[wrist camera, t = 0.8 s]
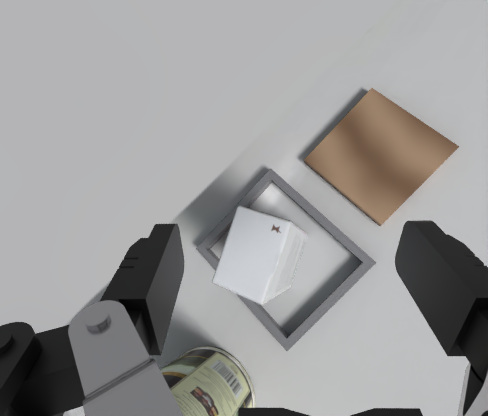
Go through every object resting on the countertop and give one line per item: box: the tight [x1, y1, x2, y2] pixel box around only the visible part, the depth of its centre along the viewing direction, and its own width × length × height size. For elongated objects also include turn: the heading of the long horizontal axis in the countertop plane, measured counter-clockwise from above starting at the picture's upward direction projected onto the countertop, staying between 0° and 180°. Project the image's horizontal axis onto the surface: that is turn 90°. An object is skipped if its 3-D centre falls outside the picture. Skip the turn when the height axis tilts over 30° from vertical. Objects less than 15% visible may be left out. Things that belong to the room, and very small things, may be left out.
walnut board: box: [304, 88, 459, 226], centre depth 31 cm, size 10×10×1 cm
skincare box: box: [212, 206, 308, 305], centre depth 27 cm, size 6×4×12 cm
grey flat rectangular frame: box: [196, 169, 376, 351], centre depth 32 cm, size 12×14×1 cm
